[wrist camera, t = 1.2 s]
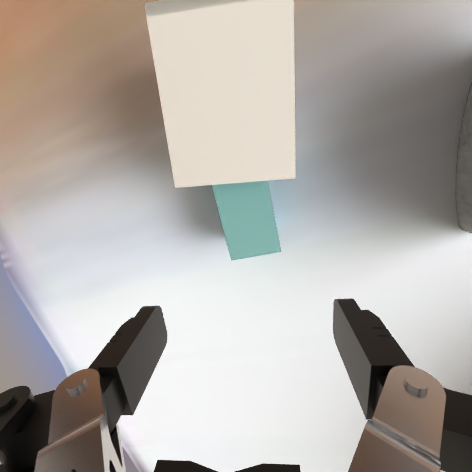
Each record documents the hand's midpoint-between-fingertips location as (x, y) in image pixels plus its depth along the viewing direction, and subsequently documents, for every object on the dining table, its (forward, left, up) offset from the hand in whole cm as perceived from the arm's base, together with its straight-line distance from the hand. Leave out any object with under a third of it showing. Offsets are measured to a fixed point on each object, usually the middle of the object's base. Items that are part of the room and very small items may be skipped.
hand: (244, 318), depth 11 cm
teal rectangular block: (-5, -1, -17) cm, 17 cm away
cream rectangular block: (-10, -1, -16) cm, 19 cm away
